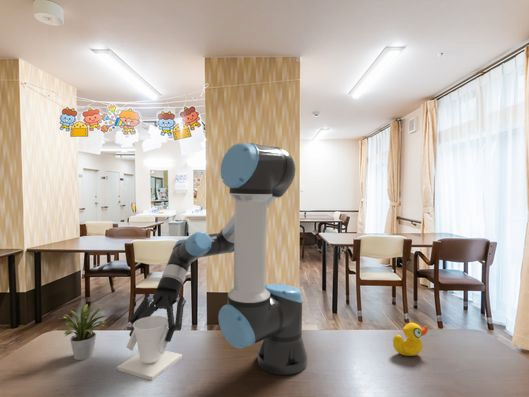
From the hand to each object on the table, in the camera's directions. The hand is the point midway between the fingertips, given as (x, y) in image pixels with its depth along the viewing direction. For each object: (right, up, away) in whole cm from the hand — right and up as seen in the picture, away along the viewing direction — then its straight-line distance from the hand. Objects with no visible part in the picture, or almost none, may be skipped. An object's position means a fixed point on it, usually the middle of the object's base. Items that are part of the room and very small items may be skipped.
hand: (144, 350), depth 93 cm
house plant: (-22, -5, +6) cm, 24 cm away
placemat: (+1, -5, +3) cm, 6 cm away
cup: (+1, -4, +3) cm, 5 cm away
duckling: (+81, -6, +9) cm, 82 cm away
